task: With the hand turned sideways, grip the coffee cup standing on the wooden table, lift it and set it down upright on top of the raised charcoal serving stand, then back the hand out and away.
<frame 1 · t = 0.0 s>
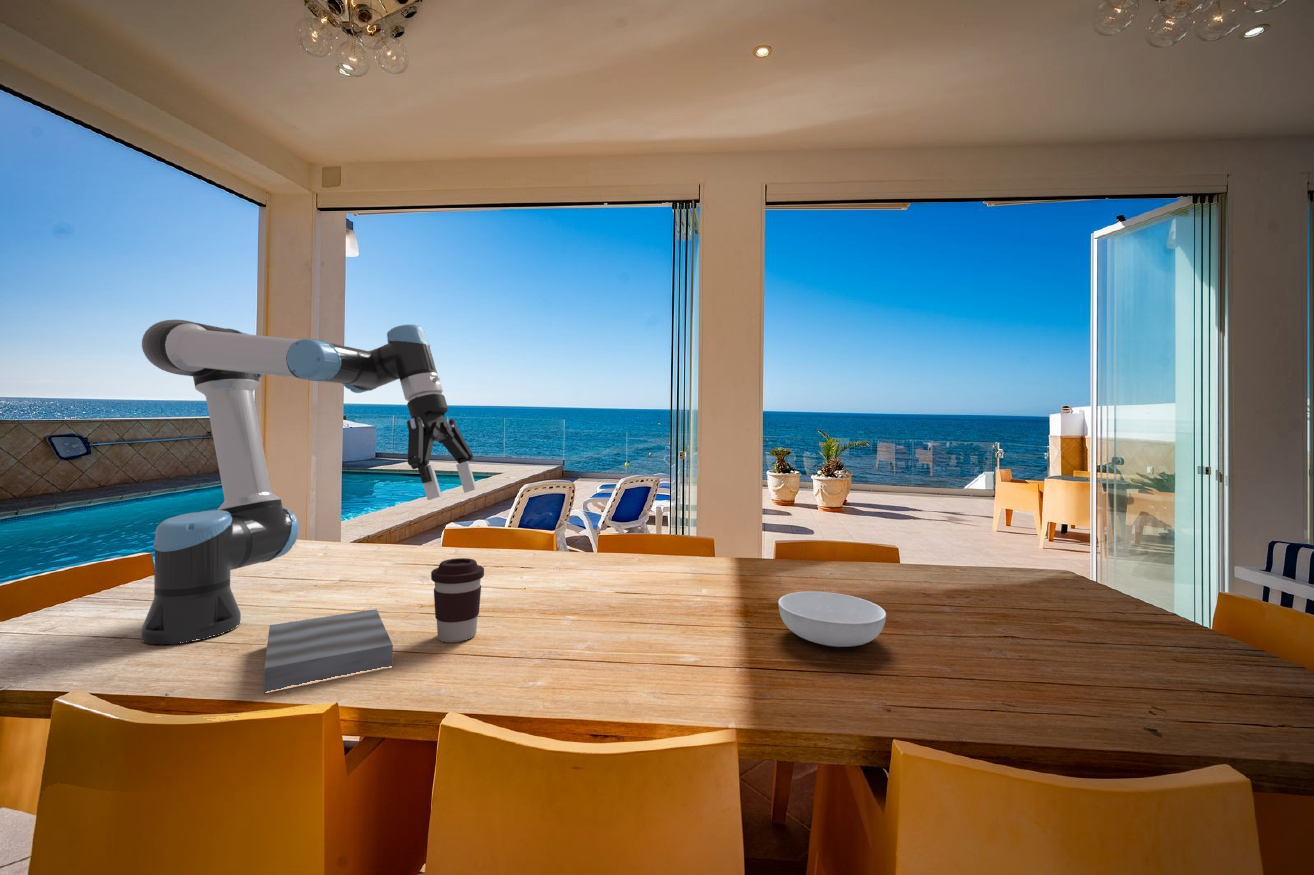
hand: (453, 494, 113), 28 cm above the table, tool tilted 20°, fingers open, 13 cm apart
serving bowl: (830, 639, 111), on the table
serving stand: (328, 656, 98), on the table
coffee cup: (457, 637, 109), on the table
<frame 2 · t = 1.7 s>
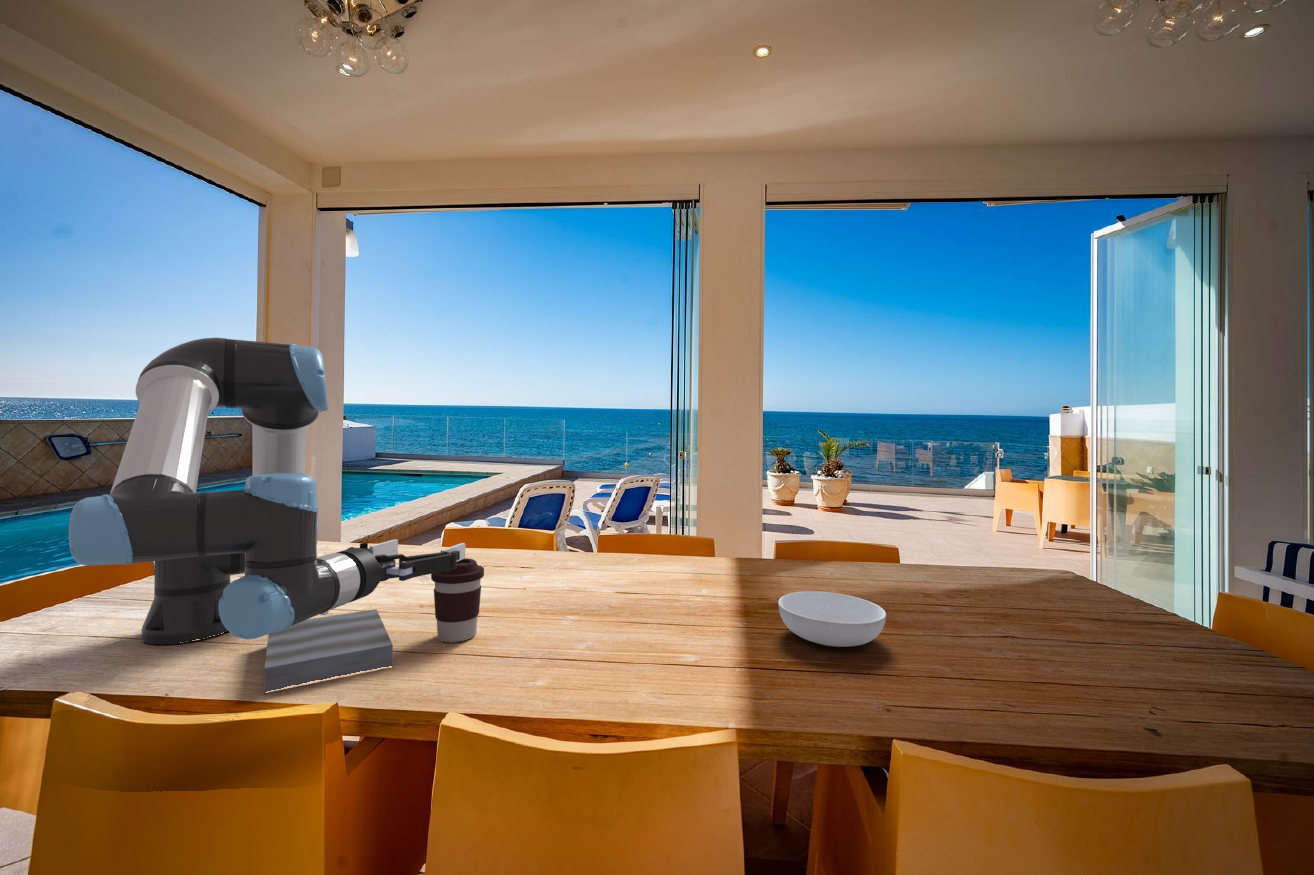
hand: (429, 548, 99), 20 cm above the table, tool horizontal, fingers open, 13 cm apart
nothing on the table moved.
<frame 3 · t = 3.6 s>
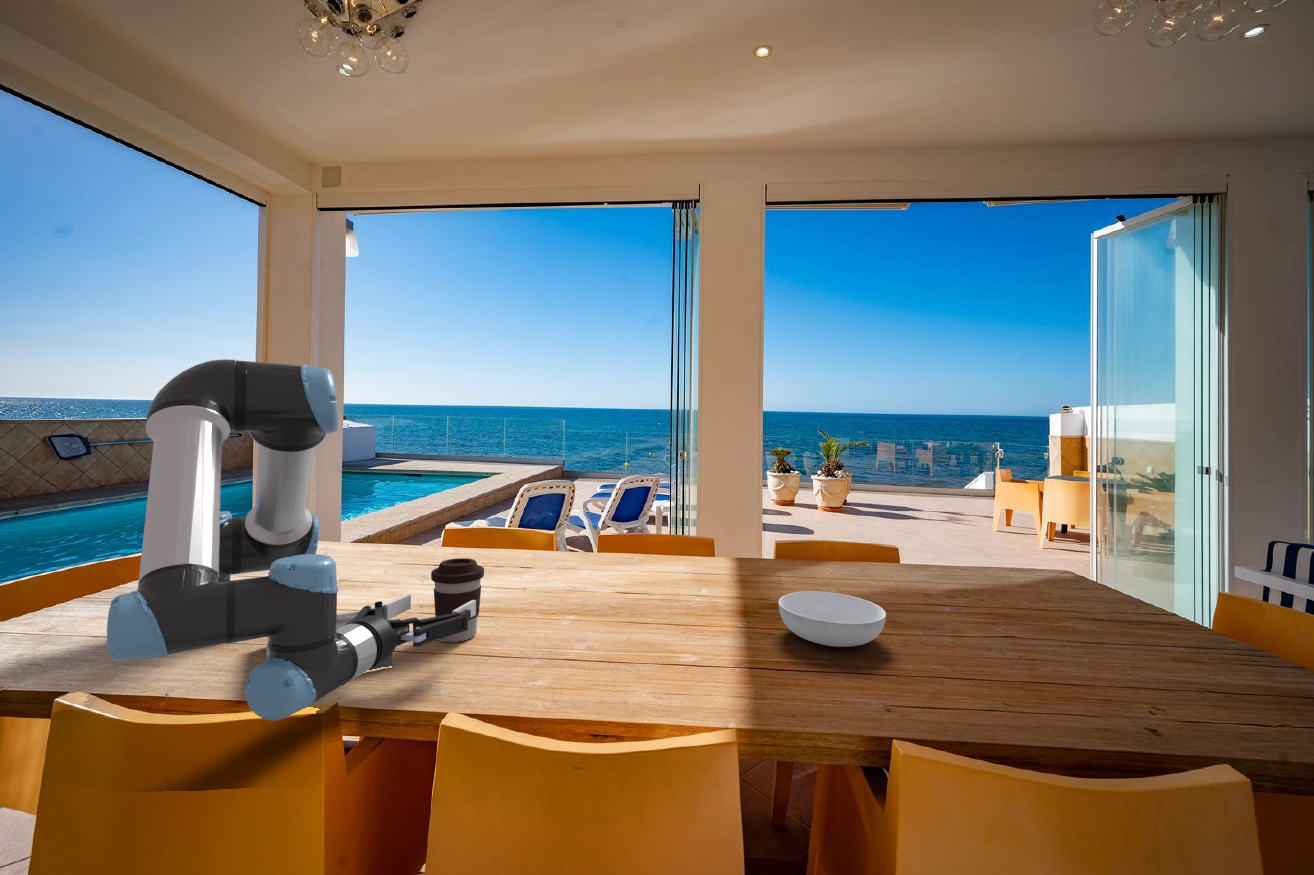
hand: (441, 604, 102), 8 cm above the table, tool horizontal, fingers open, 13 cm apart
nothing on the table moved.
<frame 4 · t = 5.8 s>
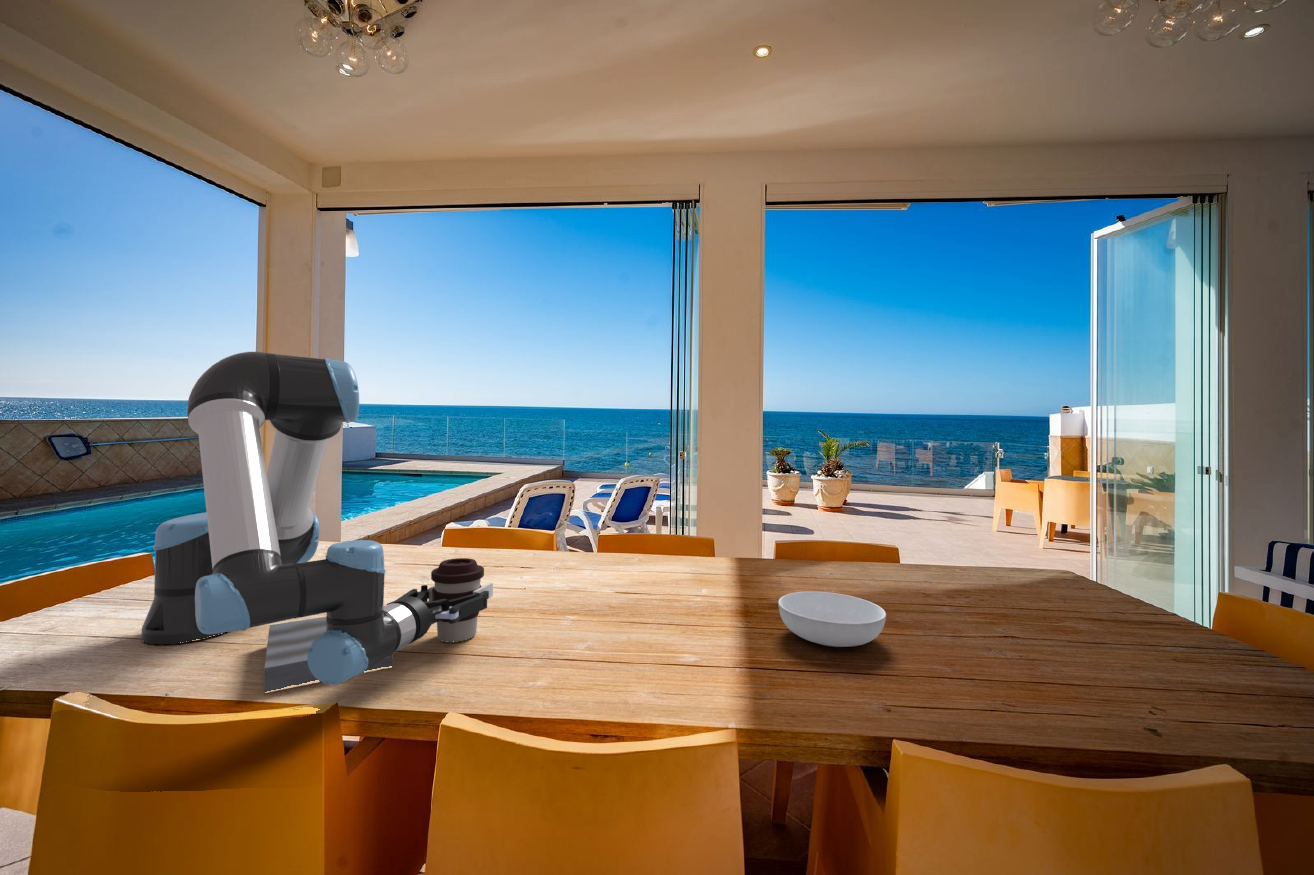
hand: (469, 587, 113), 9 cm above the table, tool horizontal, fingers closed on coffee cup, 9 cm apart
coffee cup: (457, 637, 109), on the table, touching gripper
everything else where it was.
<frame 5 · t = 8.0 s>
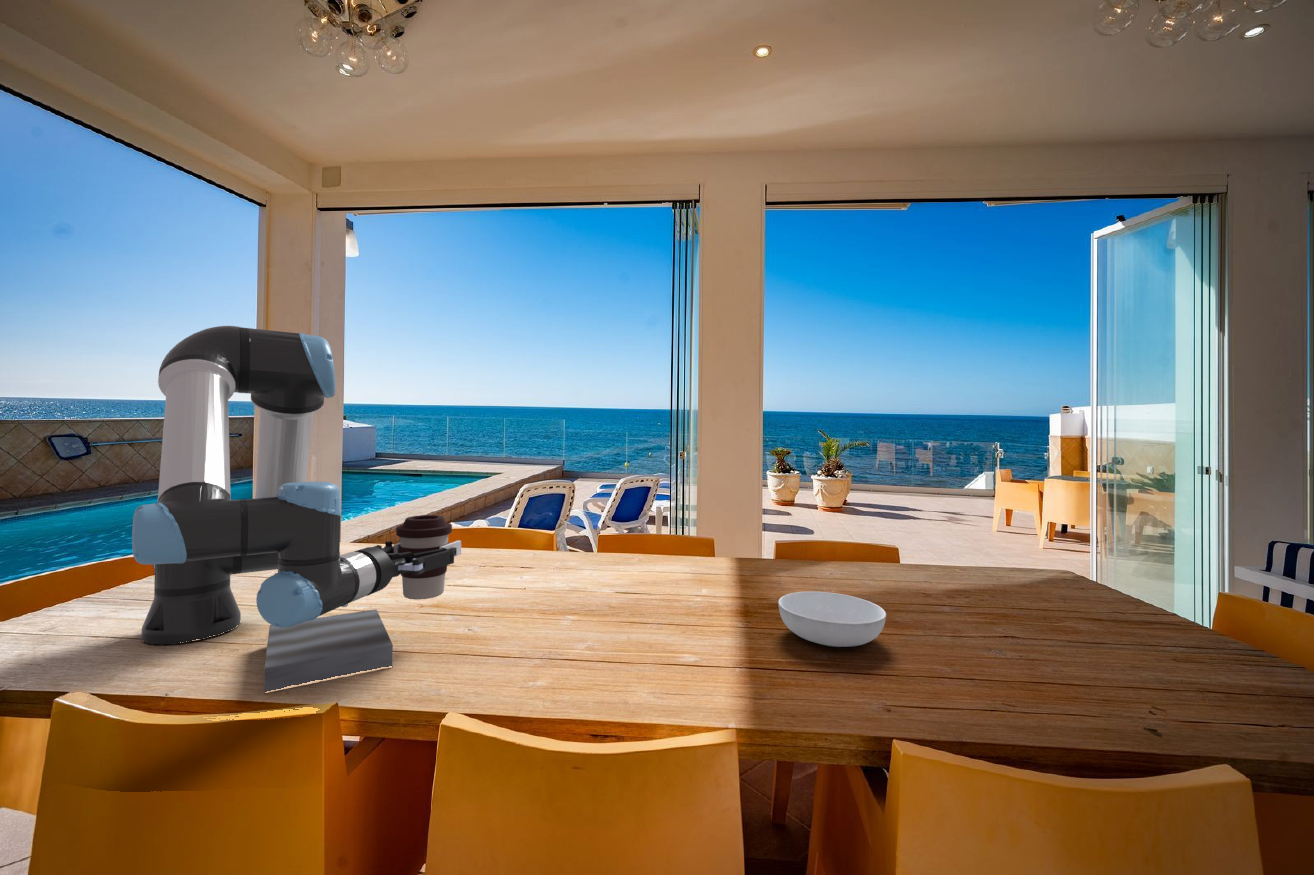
hand: (437, 546, 110), 18 cm above the table, tool horizontal, fingers closed on coffee cup, 9 cm apart
coffee cup: (423, 595, 105), point 9 cm above the table, touching gripper
everything else where it was.
when the fingers open (14 cm above the table, at t = 10.4 s): coffee cup moves 3 cm, resting on serving stand.
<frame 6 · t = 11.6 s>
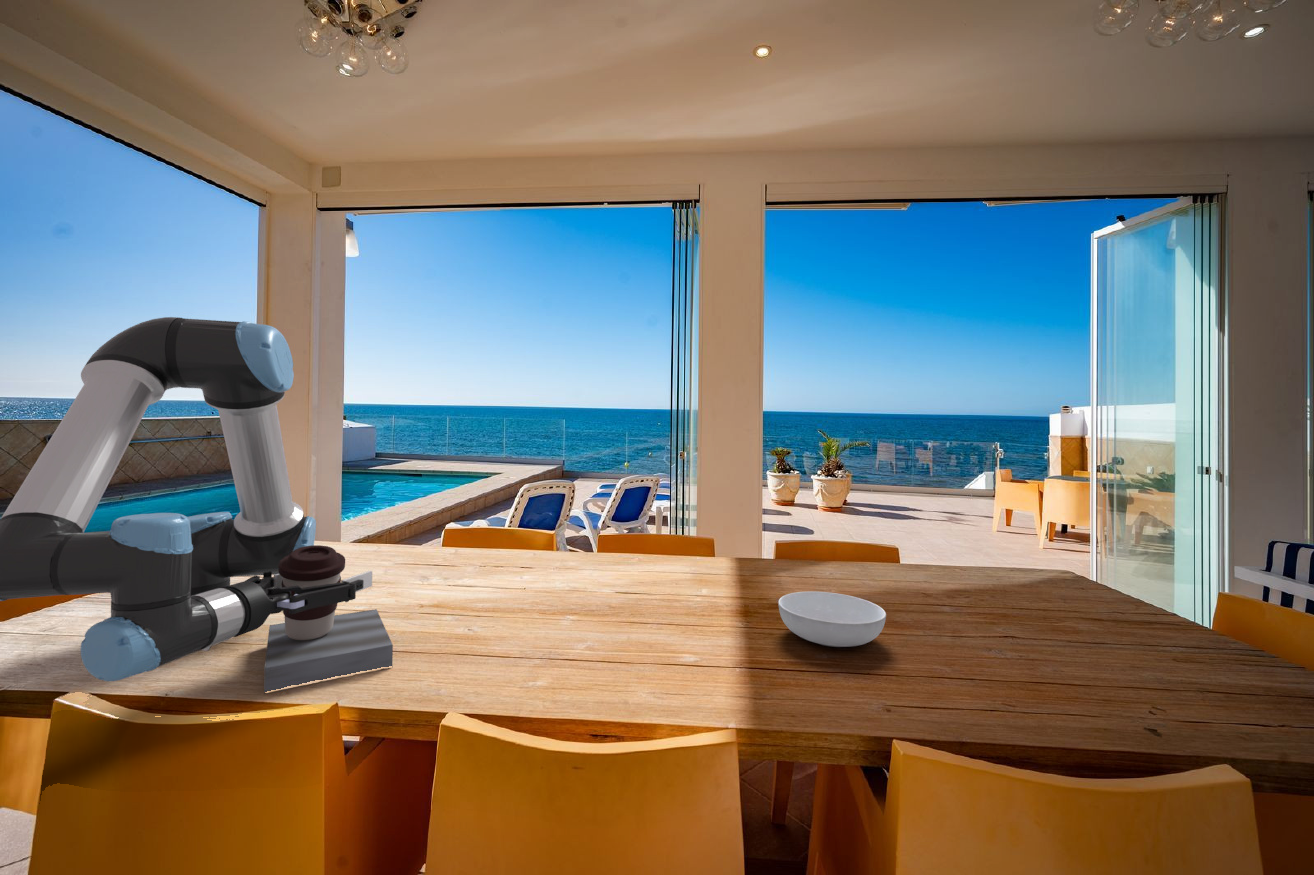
hand: (338, 575, 100), 14 cm above the table, tool horizontal, fingers open, 13 cm apart
coffee cup: (309, 631, 98), point 5 cm above the table, touching serving stand
everything else where it was.
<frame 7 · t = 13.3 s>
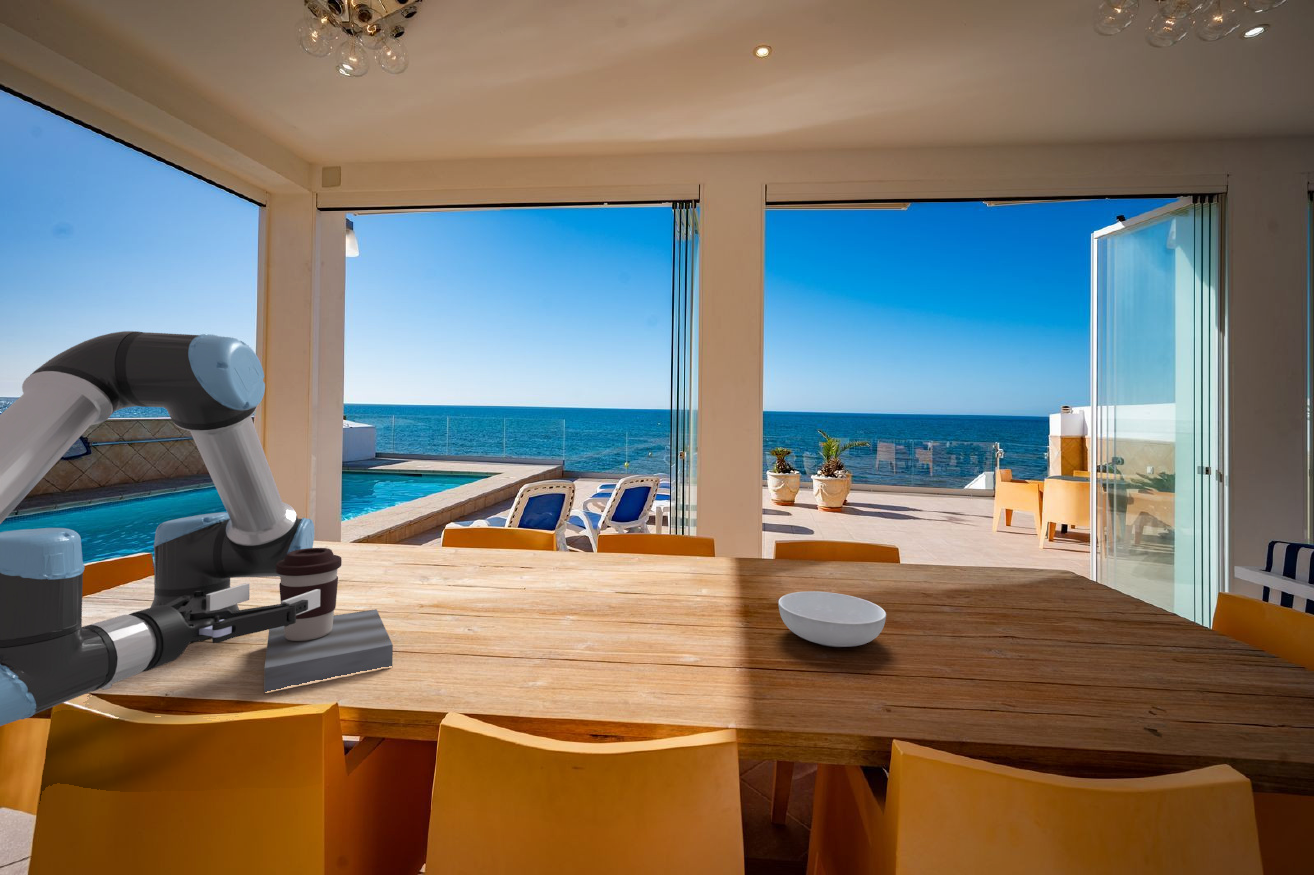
hand: (282, 594, 89), 14 cm above the table, tool horizontal, fingers open, 13 cm apart
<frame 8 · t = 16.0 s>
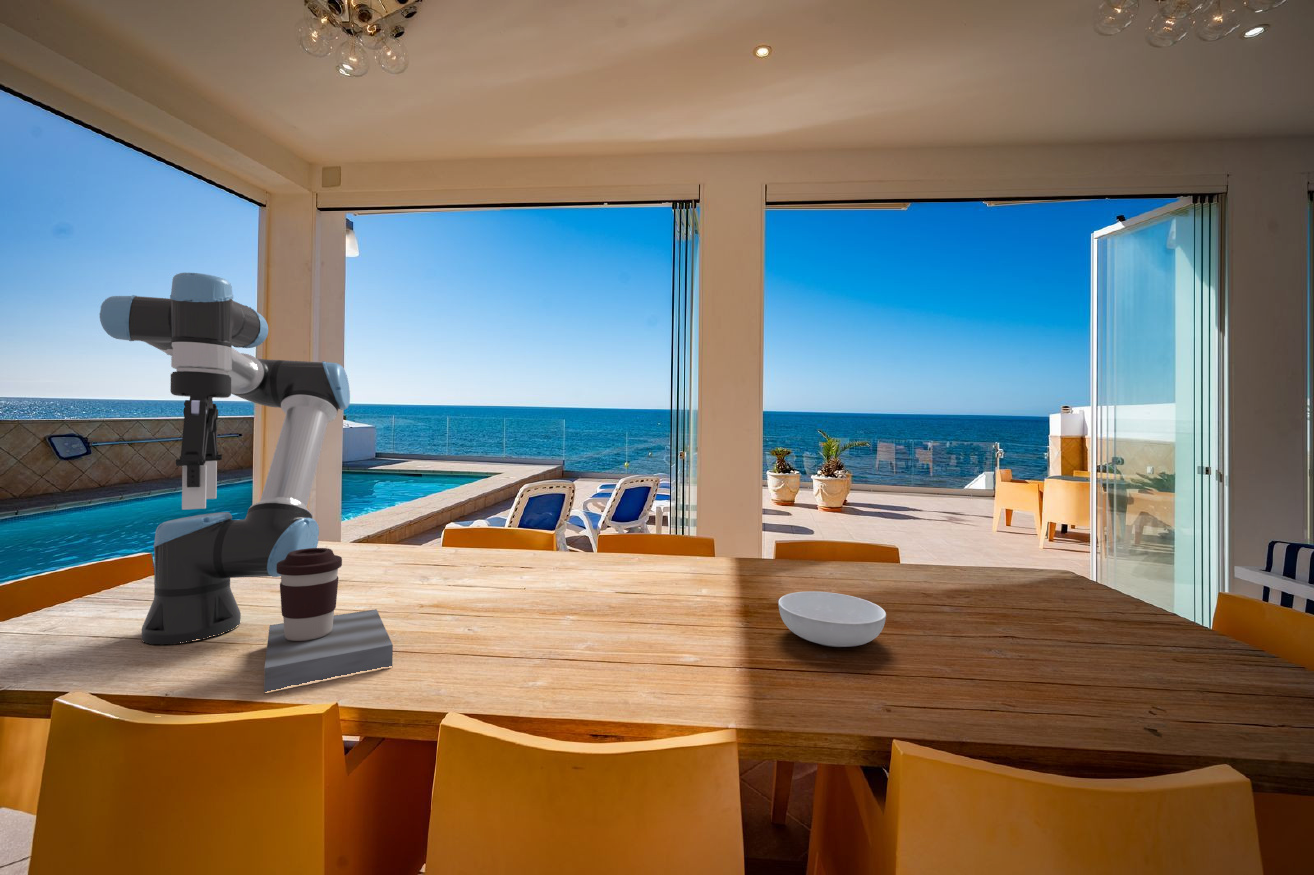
hand: (200, 503, 88), 29 cm above the table, tool pointing down, fingers open, 13 cm apart
at the end: coffee cup inside the target area on the serving stand (3.4 cm from its centre), point 3.8 cm above the serving stand's base; coffee cup tilted 0°; the gripper is holding nothing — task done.
